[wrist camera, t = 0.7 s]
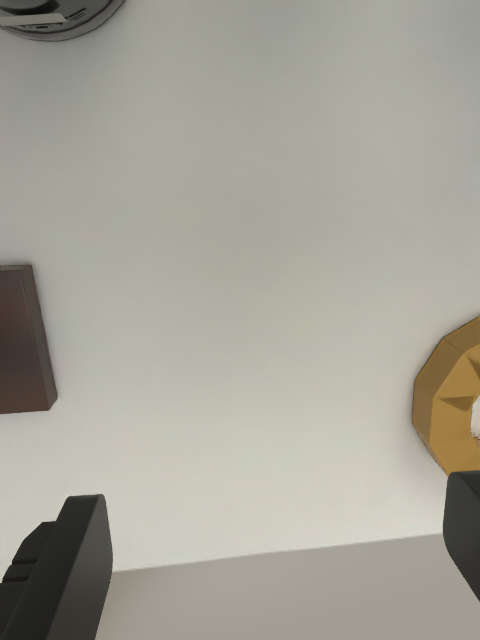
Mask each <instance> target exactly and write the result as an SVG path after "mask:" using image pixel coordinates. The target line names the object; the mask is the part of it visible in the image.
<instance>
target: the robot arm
mask: <svg viewBox="0 0 480 640" xmlns="http://www.w3.org/2000/svg"><path fill="white" fill-rule="evenodd" d="M122 2H123V0H0V29H2V30H5V31H7V32H9V33H11V34H14V35H17V36H20V37H23V38H28V39H32V40H40V41H58V40H65V39H70V38H74V37H77V36H80V35H83V34H85V33H87V32H89V31H91V30H93V29H94V28H96V27H98V26H99V25H101V24H102V23H103V22H104V21H106V20H107V19H108V18H109V17H110V16H111V15H112V14H113V13H114V12H115V11H116V10H117V8H118V7H119V6H120V5H121V4H122ZM443 536H444V541H445V545H446V547H447V550H448V552H449V555H450V556H451V558H452V560H453V561H454V563H455V564H456V566H457V567H458V569H459V570H460V572H461V574H462V575H463V577H464V578H465V580H466V581H467V583H468V584H469V586H470V588H471V589H472V591H473V592H474V594H475V595H476V597H477V598H478V600H479V601H480V470H472V471H457V472H451V473H450V474H449V477H448V481H447V490H446V500H445V509H444V519H443ZM112 563H113V552H112V543H111V536H110V529H109V522H108V515H107V508H106V501H105V497H104V495H103V494H96V495H81V496H69V497H68V498H67V499H66V501H65V503H64V505H63V507H62V509H61V511H60V513H59V516H58V518H57V520H56V521H52V522H42V523H41V524H40V525H39V526H38V527H37V528H36V529H35V530H34V531H33V532H32V533H30V534H29V535H28V536H27V537H26V538H25V539H24V540H23V542H22V544H21V546H20V547H19V549H18V551H17V553H16V555H15V557H14V558H13V560H12V565H10V566H9V568H8V569H7V571H6V573H5V575H4V577H3V581H2V583H0V640H95V637H96V633H97V629H98V625H99V621H100V617H101V614H102V610H103V606H104V603H105V599H106V595H107V591H108V587H109V584H110V579H111V574H112Z"/></svg>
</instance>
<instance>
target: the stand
mask: <svg viewBox="0 0 480 640" xmlns="http://www.w3.org/2000/svg"><path fill="white" fill-rule="evenodd" d="M56 399H57V394H56V389H55V384H54V379H53V374H52V369H51V364H50V358H49V353H48V348H47V343H46V338H45V333H44V328H43V322H42V317H41V312H40V307H39V302H38V297H37V292H36V286H35V281H34V276H33V271H32V266H31V265H13V266H0V414H8V413H21V412H35V411H48V410H50V408H51V407H52V405H53V404H54V402H55V401H56Z"/></svg>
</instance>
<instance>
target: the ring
mask: <svg viewBox="0 0 480 640" xmlns="http://www.w3.org/2000/svg"><path fill="white" fill-rule="evenodd" d="M479 395H480V316H479V317H478V318H476V319H474V320H473V321H471V322H469V323H467V324H466V325H464V326H462V327H461V328H459V329H457V330H456V331H454V332H452V333H451V334H449V335H447V336H446V337H444V338H443V339H442V340H441V341H440V343H439V344H438V346H437V347H436V349H435V350H434V352H433V353H432V355H431V356H430V358H429V359H428V361H427V362H426V364H425V366H424V367H423V369H422V370H421V372H420V373H419V375H418V376H417V378H416V380H415V388H414V402H413V416H412V424H413V426H414V428H415V429H416V431H417V433H418V434H419V436H420V438H421V439H422V441H423V443H424V444H425V446H426V448H427V449H428V451H429V453H430V454H431V456H432V457H433V458H434V460H435V461H436V462H437V464H438V465H439V466H440V467H441V469H442V470H443V471H444V473H445V474H446V475H447V476H448V477H449V474H450V473H451V472H457V471H472V470H480V440H479V439H477V438H475V437H473V436H472V434H471V432H470V424H471V416H472V407H473V403H474V402H475V401H476V399H477V398H478V396H479Z"/></svg>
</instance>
